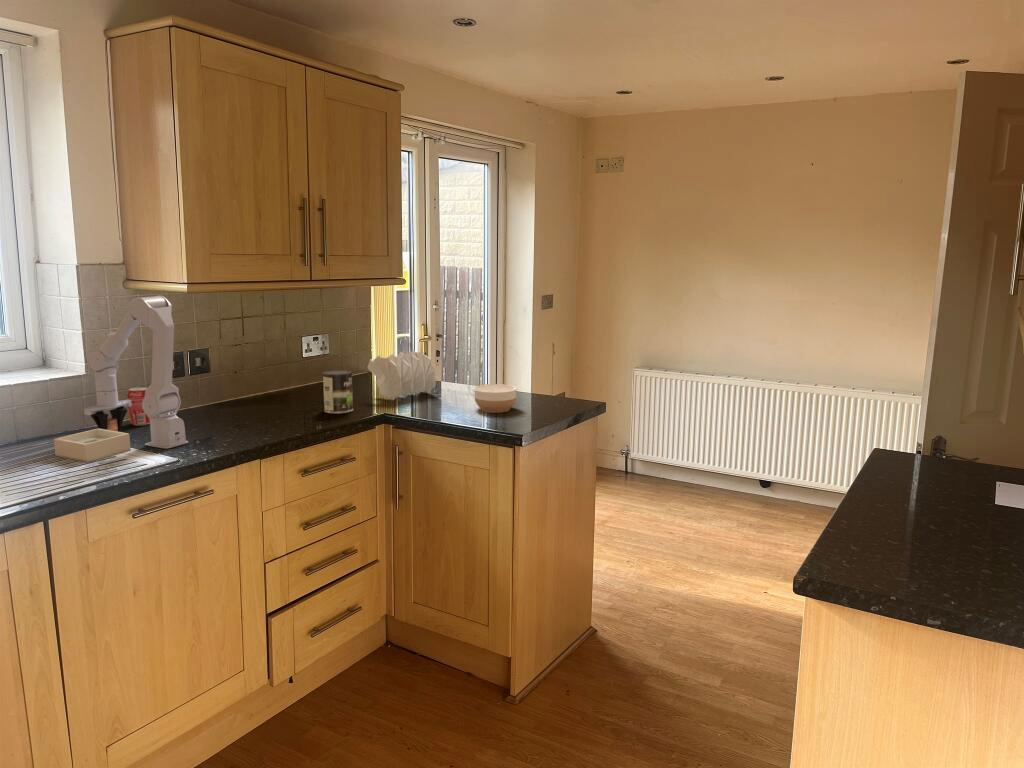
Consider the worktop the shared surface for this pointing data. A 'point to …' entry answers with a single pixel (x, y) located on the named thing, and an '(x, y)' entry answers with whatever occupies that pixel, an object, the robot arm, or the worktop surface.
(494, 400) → the bowl
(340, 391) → the coffee can
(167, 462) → the worktop surface
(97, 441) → the bore box
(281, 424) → the worktop surface
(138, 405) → the soda can
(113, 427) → the peg
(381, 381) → the white pleated paper lampshade
